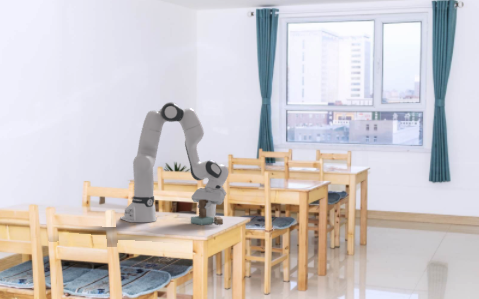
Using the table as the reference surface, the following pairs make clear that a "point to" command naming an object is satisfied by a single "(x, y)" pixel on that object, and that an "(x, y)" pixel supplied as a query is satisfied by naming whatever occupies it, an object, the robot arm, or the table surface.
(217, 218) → the wick
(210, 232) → the table surface
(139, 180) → the robot arm
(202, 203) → the stick
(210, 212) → the white tapered container
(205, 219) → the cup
